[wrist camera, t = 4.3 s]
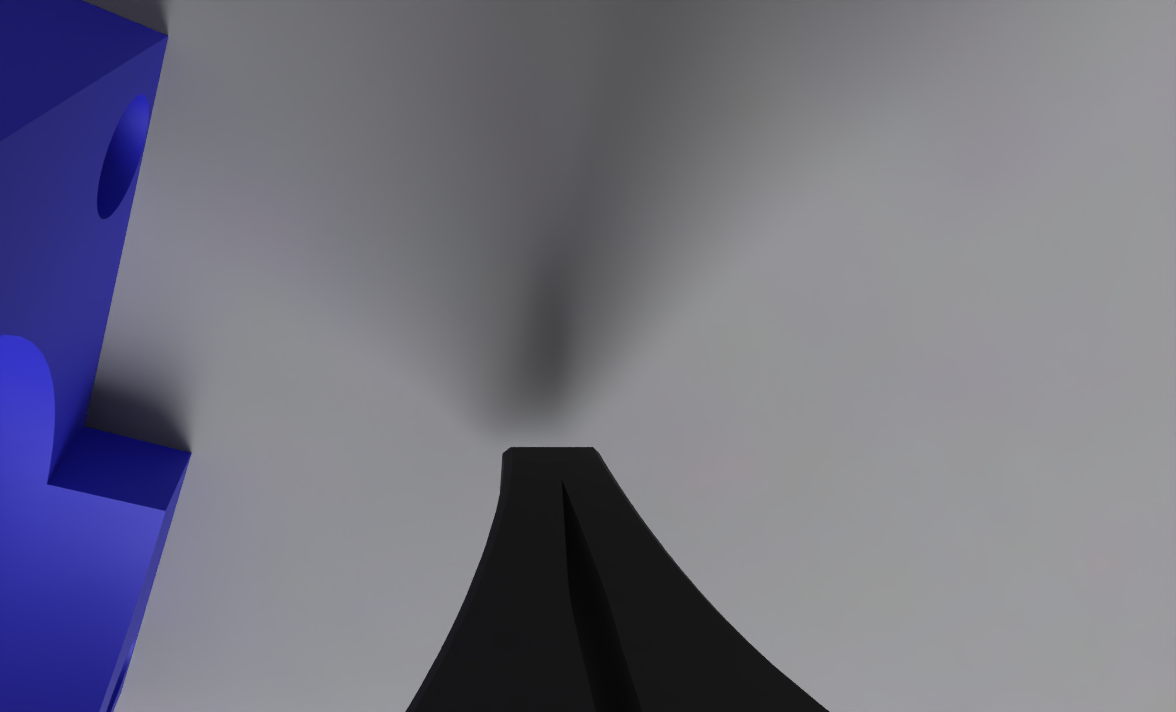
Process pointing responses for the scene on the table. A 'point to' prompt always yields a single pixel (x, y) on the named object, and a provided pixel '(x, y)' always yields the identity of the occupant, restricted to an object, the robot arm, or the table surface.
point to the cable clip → (70, 357)
